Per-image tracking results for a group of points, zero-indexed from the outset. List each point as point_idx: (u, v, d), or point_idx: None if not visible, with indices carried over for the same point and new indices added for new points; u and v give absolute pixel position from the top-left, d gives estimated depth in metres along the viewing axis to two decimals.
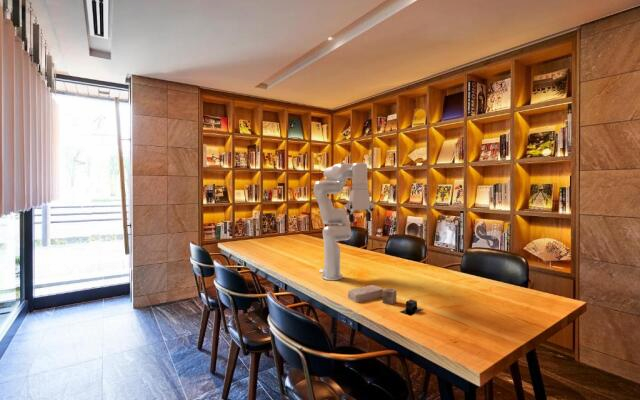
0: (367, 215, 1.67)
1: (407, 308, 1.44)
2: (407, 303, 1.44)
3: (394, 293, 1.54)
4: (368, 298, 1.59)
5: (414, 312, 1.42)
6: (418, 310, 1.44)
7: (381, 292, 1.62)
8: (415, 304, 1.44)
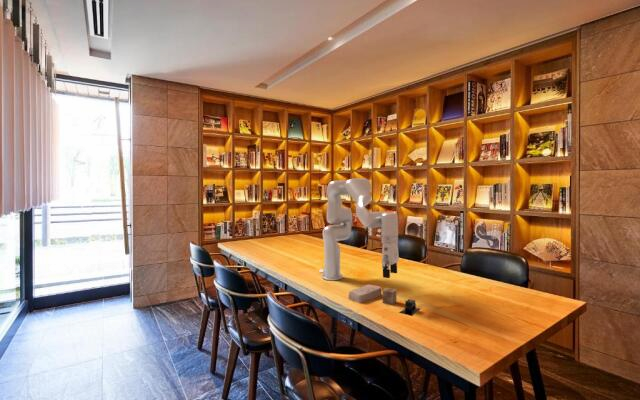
0: None
1: (407, 308, 1.44)
2: (407, 303, 1.44)
3: (394, 293, 1.54)
4: (369, 298, 1.59)
5: (414, 312, 1.43)
6: (417, 309, 1.45)
7: (380, 291, 1.64)
8: (414, 304, 1.45)
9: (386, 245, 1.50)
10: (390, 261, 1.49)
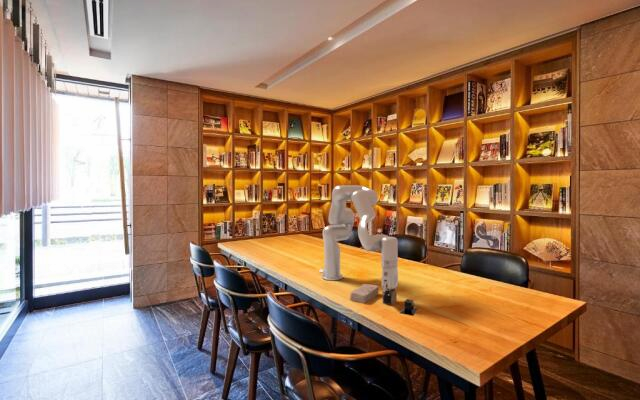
0: None
1: (406, 308, 1.43)
2: (406, 303, 1.44)
3: (394, 293, 1.54)
4: (370, 297, 1.60)
5: (413, 311, 1.43)
6: (415, 309, 1.46)
7: (377, 289, 1.66)
8: (413, 303, 1.45)
9: (386, 270, 1.51)
10: (390, 286, 1.50)
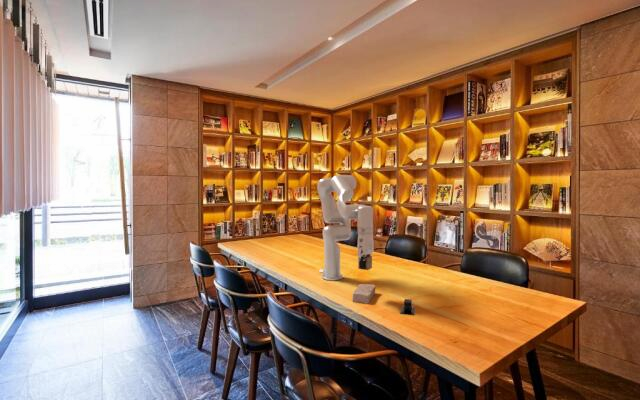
0: None
1: (406, 308, 1.43)
2: (406, 303, 1.44)
3: (369, 259, 1.61)
4: (371, 297, 1.60)
5: (413, 311, 1.44)
6: (413, 308, 1.47)
7: (374, 288, 1.68)
8: None
9: (361, 236, 1.58)
10: (364, 252, 1.57)
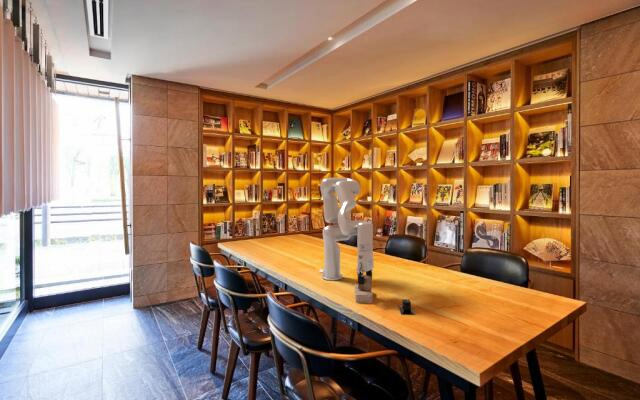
0: None
1: (406, 308, 1.43)
2: (405, 303, 1.43)
3: (369, 280, 1.61)
4: None
5: (412, 310, 1.44)
6: (410, 308, 1.47)
7: None
8: None
9: (361, 253, 1.58)
10: (364, 268, 1.57)
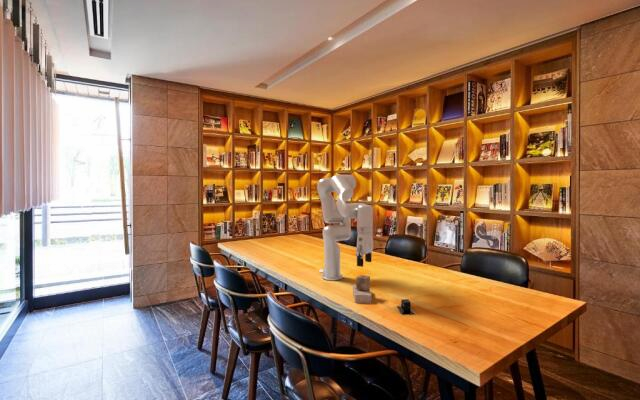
0: None
1: (406, 308, 1.43)
2: (405, 303, 1.43)
3: (367, 280, 1.61)
4: None
5: (411, 310, 1.44)
6: (409, 307, 1.47)
7: None
8: None
9: (361, 236, 1.58)
10: (364, 251, 1.57)
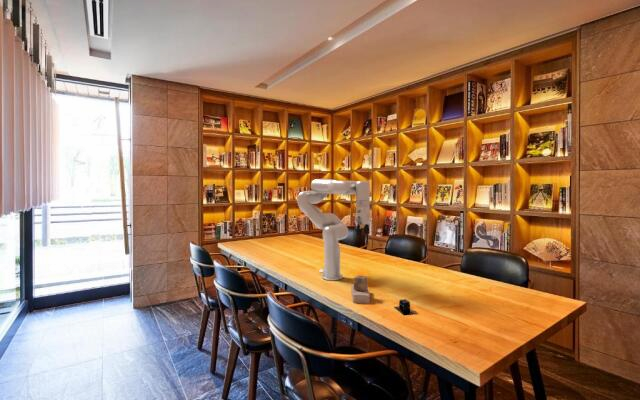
0: None
1: (405, 309, 1.43)
2: (405, 304, 1.43)
3: (365, 280, 1.61)
4: None
5: (410, 310, 1.45)
6: None
7: None
8: None
9: (359, 208, 1.76)
10: (362, 221, 1.75)
